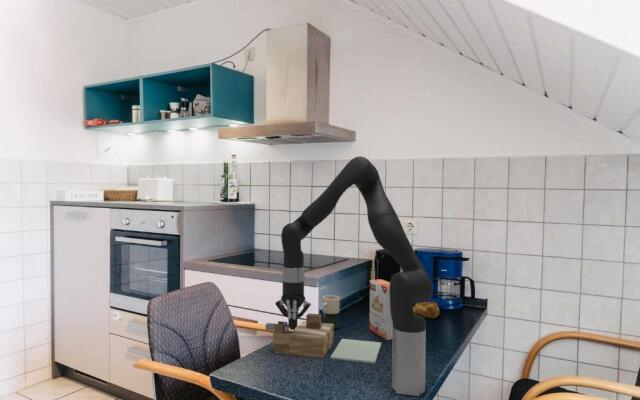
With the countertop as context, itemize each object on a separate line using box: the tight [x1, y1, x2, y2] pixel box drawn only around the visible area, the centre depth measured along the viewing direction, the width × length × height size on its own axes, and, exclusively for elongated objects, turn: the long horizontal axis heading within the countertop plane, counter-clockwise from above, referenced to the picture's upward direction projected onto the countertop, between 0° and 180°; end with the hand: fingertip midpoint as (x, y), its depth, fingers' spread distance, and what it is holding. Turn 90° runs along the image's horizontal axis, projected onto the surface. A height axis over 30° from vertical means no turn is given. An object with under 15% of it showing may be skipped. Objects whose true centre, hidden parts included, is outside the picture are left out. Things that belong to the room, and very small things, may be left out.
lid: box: [289, 313, 334, 340], centre depth 150 cm, size 16×12×6 cm
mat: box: [330, 338, 382, 364], centre depth 148 cm, size 19×15×1 cm
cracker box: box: [369, 278, 393, 341], centre depth 166 cm, size 14×6×21 cm, turn 21°
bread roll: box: [413, 301, 440, 319], centre depth 194 cm, size 13×10×8 cm
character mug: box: [322, 294, 341, 330], centre depth 174 cm, size 11×7×13 cm, turn 142°
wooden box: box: [272, 320, 335, 359], centre depth 150 cm, size 16×18×10 cm
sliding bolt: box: [265, 321, 290, 332], centre depth 147 cm, size 2×8×3 cm, turn 75°
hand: (292, 329), depth 146 cm, fingers closed
